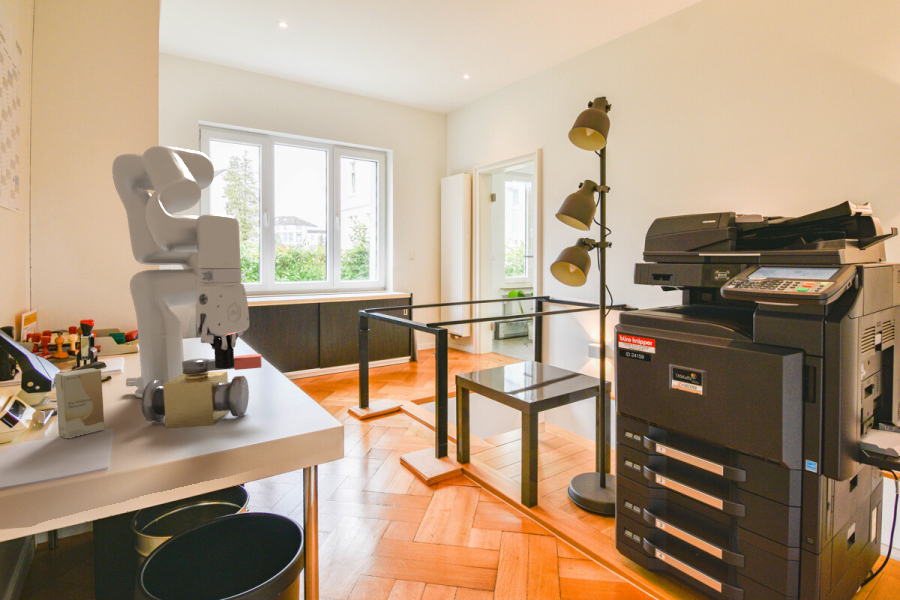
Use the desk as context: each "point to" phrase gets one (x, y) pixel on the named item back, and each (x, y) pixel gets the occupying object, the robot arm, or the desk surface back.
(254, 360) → the lever
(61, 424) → the skincare box
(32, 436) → the desk surface
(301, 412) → the desk surface
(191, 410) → the valve
